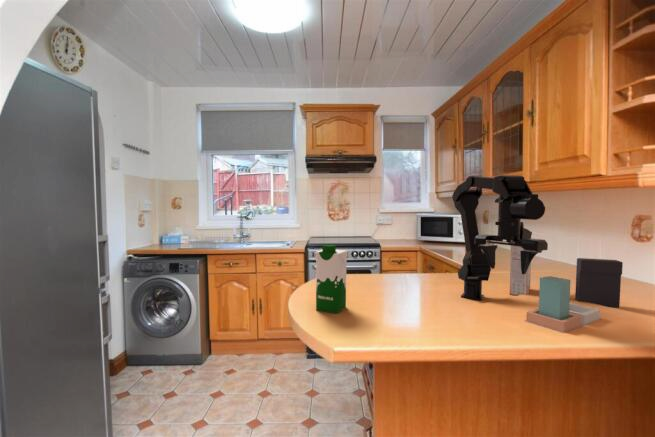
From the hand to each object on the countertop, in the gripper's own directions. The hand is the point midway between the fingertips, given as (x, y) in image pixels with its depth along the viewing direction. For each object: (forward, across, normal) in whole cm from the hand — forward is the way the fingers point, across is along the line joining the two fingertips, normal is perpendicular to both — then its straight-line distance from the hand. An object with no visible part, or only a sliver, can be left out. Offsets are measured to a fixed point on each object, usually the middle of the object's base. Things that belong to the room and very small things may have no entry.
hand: (507, 271), depth 95 cm
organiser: (+13, -12, -7) cm, 19 cm away
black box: (+13, -8, -36) cm, 39 cm away
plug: (+12, -12, -2) cm, 17 cm away
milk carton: (+13, +30, +43) cm, 54 cm away
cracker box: (+13, +13, -29) cm, 35 cm away
